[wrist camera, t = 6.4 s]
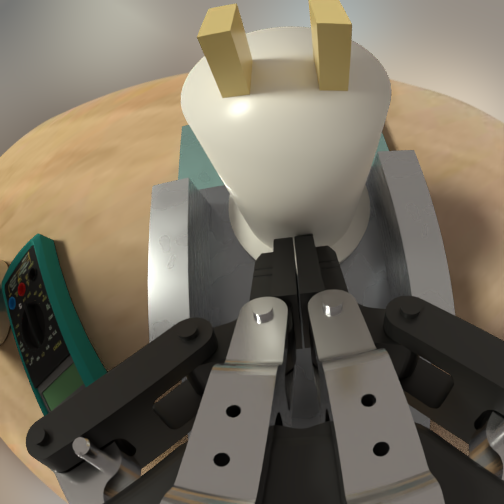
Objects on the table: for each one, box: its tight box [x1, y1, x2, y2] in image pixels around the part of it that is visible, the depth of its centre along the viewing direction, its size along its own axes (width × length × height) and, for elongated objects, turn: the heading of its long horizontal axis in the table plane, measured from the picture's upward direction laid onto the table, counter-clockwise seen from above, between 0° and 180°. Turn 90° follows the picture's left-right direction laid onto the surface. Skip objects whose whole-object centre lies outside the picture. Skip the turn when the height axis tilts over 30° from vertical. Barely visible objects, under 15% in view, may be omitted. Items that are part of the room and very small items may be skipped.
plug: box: [181, 0, 391, 276], centre depth 9 cm, size 7×7×11 cm
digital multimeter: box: [1, 234, 107, 416], centre depth 16 cm, size 7×15×3 cm, turn 38°
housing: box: [148, 125, 455, 440], centre depth 13 cm, size 13×22×4 cm, turn 4°
